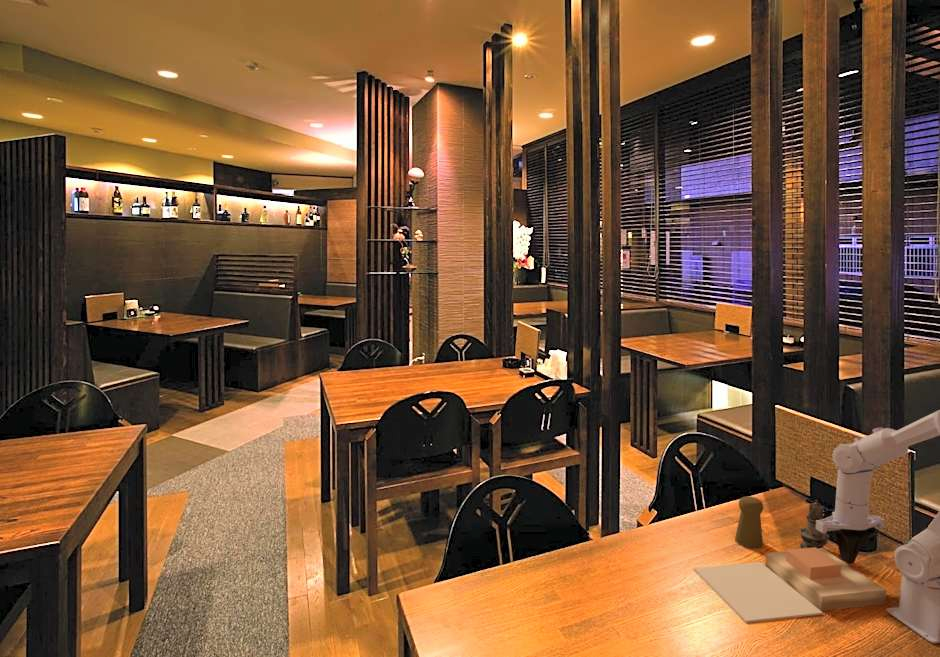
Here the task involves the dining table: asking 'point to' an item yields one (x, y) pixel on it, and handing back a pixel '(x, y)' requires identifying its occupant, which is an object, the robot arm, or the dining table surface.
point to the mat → (756, 592)
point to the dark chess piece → (813, 528)
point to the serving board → (829, 585)
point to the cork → (750, 523)
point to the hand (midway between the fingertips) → (847, 561)
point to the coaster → (813, 563)
